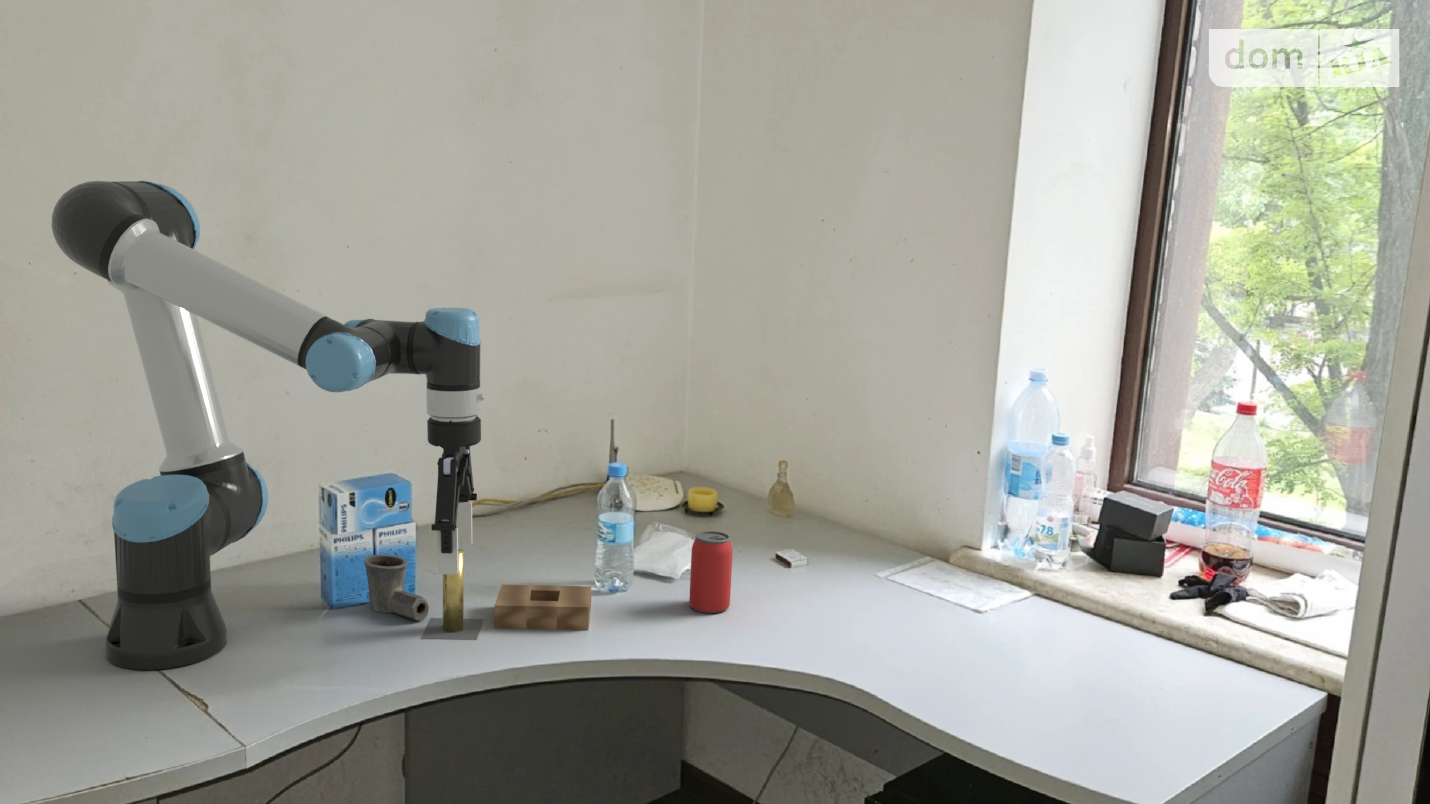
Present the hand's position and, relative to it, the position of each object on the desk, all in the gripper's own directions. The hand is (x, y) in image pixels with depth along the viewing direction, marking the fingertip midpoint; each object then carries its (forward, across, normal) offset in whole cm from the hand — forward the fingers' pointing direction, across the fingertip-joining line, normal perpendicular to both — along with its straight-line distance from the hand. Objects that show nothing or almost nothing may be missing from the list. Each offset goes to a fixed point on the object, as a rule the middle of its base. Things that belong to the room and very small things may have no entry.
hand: (456, 558), depth 166 cm
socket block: (+12, +5, -12) cm, 18 cm away
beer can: (+12, +12, -38) cm, 42 cm away
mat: (+11, 0, +1) cm, 11 cm away
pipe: (+12, +7, +10) cm, 17 cm away
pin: (+11, 0, +1) cm, 11 cm away
